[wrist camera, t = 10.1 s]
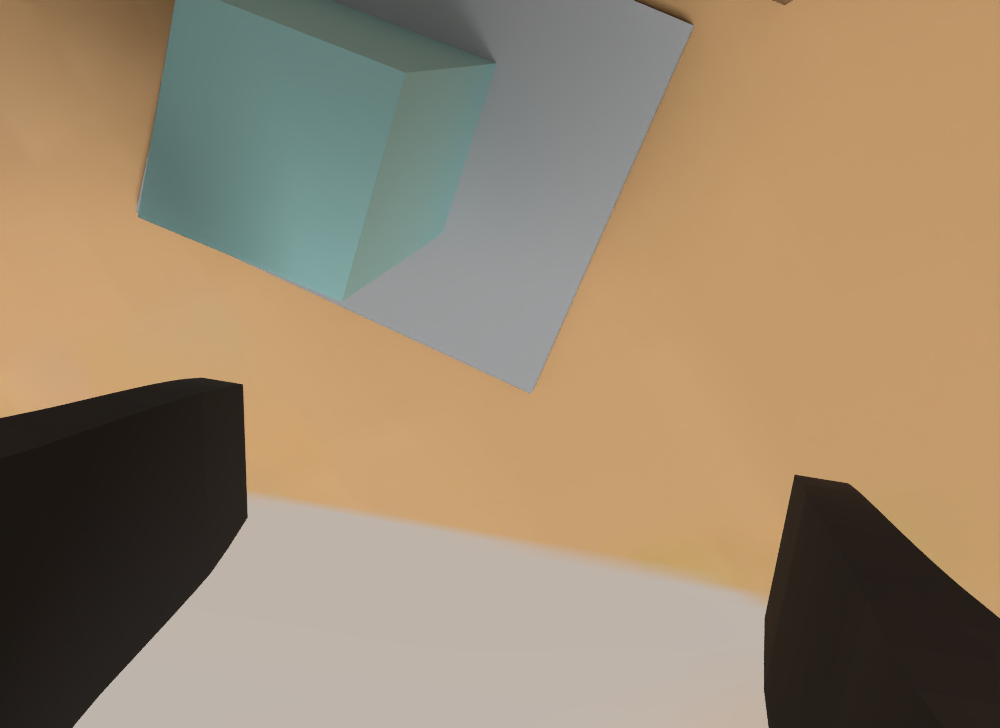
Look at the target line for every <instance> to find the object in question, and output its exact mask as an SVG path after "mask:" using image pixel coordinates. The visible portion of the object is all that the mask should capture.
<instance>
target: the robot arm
mask: <svg viewBox="0 0 1000 728" xmlns="http://www.w3.org/2000/svg"><path fill="white" fill-rule="evenodd" d="M246 519H247V488H246V459H245V431H244V402H243V384H237V383H231V382H225V381H219V380H212V379H206V378H192V379H181V380H174V381H168V382H163V383H157V384H152V385H148V386H143V387H138V388H134V389H129V390H125V391H120V392H116V393H112V394H107V395H103V396H99V397H95V398H90V399H86V400H82V401H77V402H73V403H69V404H65V405H60V406H56V407H52V408H47V409H42V410H37V411H33V412H28V413H23V414H18V415H13V416H9V417H4V418H0V728H73V726H74V725H75V724H76V722H77V721H78V720H79V719H80V718H81V716H82V715H83V714H84V713H85V712H86V711H87V709H88V708H89V707H90V706H91V705H92V703H93V702H94V701H95V700H96V699H97V698H98V696H99V695H100V694H101V693H102V692H103V691H104V689H106V687H107V686H108V685H109V684H110V683H111V682H112V681H113V680H114V679H115V678H116V676H118V674H119V673H120V672H121V671H122V670H123V669H124V668H125V667H126V666H127V664H129V663H130V661H131V660H132V659H133V658H134V657H135V656H136V655H137V654H138V653H139V652H140V651H141V650H142V648H143V647H144V646H145V645H146V644H147V643H148V642H149V641H150V640H151V639H152V637H154V635H155V634H156V633H157V632H158V631H159V630H160V629H161V628H162V627H163V626H164V625H165V624H166V622H167V621H168V620H169V619H170V618H171V617H172V616H173V615H174V614H175V612H176V611H177V610H178V609H179V608H180V607H181V606H182V605H183V604H184V603H185V601H186V600H187V599H188V598H189V597H190V596H191V595H192V594H193V593H194V592H195V590H196V589H197V588H198V587H199V586H200V585H201V584H202V582H203V581H204V580H205V579H206V578H207V577H208V576H209V574H210V573H211V572H212V570H213V569H214V567H215V566H216V565H217V563H218V562H219V560H220V559H221V558H222V556H223V555H224V553H225V552H226V550H227V549H228V547H229V546H230V544H231V543H232V541H233V540H234V538H235V536H236V535H237V533H238V532H239V530H240V529H241V527H242V525H243V524H244V522H245V521H246ZM764 638H765V639H764V693H765V701H766V710H767V718H768V726H769V728H1000V618H999V617H997V616H996V615H995V614H994V613H993V612H991V611H990V610H989V609H988V608H986V607H985V606H984V605H983V604H981V603H980V602H979V601H978V600H977V599H975V598H974V597H973V596H972V595H970V594H969V593H968V592H967V591H965V590H964V589H963V588H962V587H961V586H960V585H958V584H957V583H956V582H955V581H954V580H953V579H951V578H950V577H949V576H948V575H947V574H946V573H945V572H943V571H942V570H941V569H940V568H939V567H938V566H937V565H936V564H935V563H933V562H932V561H931V560H930V559H929V558H928V557H927V556H926V555H925V554H924V553H923V552H921V551H920V550H919V549H918V548H917V547H916V546H915V545H914V544H913V543H912V542H911V541H910V540H909V539H908V538H907V537H906V536H904V535H903V534H902V533H901V532H900V531H899V530H898V529H897V528H896V527H895V526H894V525H893V524H892V523H891V522H890V521H889V520H888V519H887V518H886V517H885V516H884V515H883V514H882V513H881V512H880V511H879V510H878V509H877V508H876V507H874V506H873V505H872V504H871V503H870V502H869V501H868V500H867V499H866V498H865V497H864V496H863V495H862V494H861V493H860V492H858V491H857V490H856V489H855V488H854V487H852V486H851V485H850V484H848V483H842V482H836V481H830V480H823V479H817V478H811V477H805V476H799V475H795V476H794V481H793V486H792V491H791V495H790V500H789V505H788V510H787V514H786V519H785V524H784V529H783V534H782V538H781V543H780V548H779V553H778V557H777V562H776V567H775V572H774V577H773V581H772V586H771V591H770V596H769V600H768V605H767V610H766V615H765V637H764Z"/></svg>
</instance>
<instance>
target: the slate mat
mask: <svg viewBox="0 0 1000 728" xmlns="http://www.w3.org/2000/svg"><path fill="white" fill-rule="evenodd" d="M332 1H335V2H337V3H340V4H343V5H345V6H348V7H350V8H353V9H356V10H358V11H361V12H364V13H366V14H369V15H371V16H374V17H377V18H379V19H382V20H384V21H387V22H390V23H392V24H395V25H398V26H400V27H403V28H405V29H408V30H411V31H413V32H416V33H418V34H421V35H424V36H426V37H429V38H432V39H434V40H437V41H439V42H442V43H445V44H447V45H450V46H452V47H455V48H458V49H460V50H463V51H466V52H468V53H471V54H473V55H476V56H479V57H481V58H484V59H486V60H489V61H492V62H494V63H497V64H496V67H495V70H494V73H493V76H492V79H491V82H490V85H489V89H488V92H487V95H486V98H485V101H484V104H483V107H482V111H481V114H480V117H479V120H478V123H477V126H476V129H475V132H474V136H473V139H472V142H471V145H470V148H469V151H468V154H467V157H466V161H465V164H464V167H463V170H462V173H461V176H460V179H459V183H458V186H457V189H456V192H455V195H454V198H453V201H452V204H451V208H450V211H449V214H448V217H447V220H446V223H445V226H444V229H443V233H442V234H440V235H439V236H438V237H436V238H435V239H433V240H432V241H430V242H429V243H427V244H426V245H424V246H423V247H421V248H420V249H419V250H417V251H416V252H414V253H413V254H411V255H410V256H408V257H407V258H405V259H404V260H402V261H401V262H400V263H398V264H397V265H395V266H394V267H392V268H391V269H389V270H388V271H386V272H385V273H383V274H382V275H381V276H379V277H378V278H376V279H375V280H373V281H372V282H370V283H369V284H367V285H366V286H364V287H363V288H362V289H360V290H359V291H357V292H356V293H354V294H353V295H351V296H350V297H348V298H347V299H345V300H344V301H342V302H341V301H338V300H336V299H334V298H331V297H329V296H326V295H324V294H322V293H319V292H317V291H314V290H312V289H310V288H307V287H305V286H302V285H300V284H298V283H295V282H293V281H290V280H288V279H286V278H283V277H281V276H278V275H276V274H274V273H271V272H269V271H266V270H264V269H262V268H259V267H257V266H254V265H252V264H250V263H248V264H250V265H252V266H254V267H256V268H259V269H261V270H263V271H265V272H267V273H269V274H272V275H274V276H276V277H278V278H280V279H282V280H285V281H287V282H289V283H291V284H293V285H295V286H298V287H300V288H302V289H304V290H306V291H309V292H311V293H313V294H315V295H317V296H319V297H322V298H324V299H326V300H328V301H330V302H332V303H335V304H337V305H339V306H341V307H343V308H345V309H348V310H350V311H352V312H354V313H356V314H359V315H361V316H363V317H365V318H367V319H369V320H372V321H374V322H376V323H378V324H380V325H382V326H385V327H387V328H389V329H391V330H393V331H395V332H398V333H400V334H402V335H404V336H406V337H408V338H411V339H413V340H415V341H417V342H419V343H422V344H424V345H426V346H428V347H430V348H432V349H435V350H437V351H439V352H441V353H443V354H445V355H448V356H450V357H452V358H454V359H456V360H458V361H461V362H463V363H465V364H467V365H469V366H472V367H474V368H476V369H478V370H480V371H482V372H485V373H487V374H489V375H491V376H493V377H495V378H498V379H500V380H502V381H504V382H506V383H508V384H511V385H513V386H515V387H517V388H519V389H522V390H524V391H526V392H528V393H530V394H531V393H532V391H533V389H534V387H535V385H536V383H537V381H538V378H539V376H540V374H541V372H542V369H543V367H544V365H545V362H546V360H547V358H548V356H549V353H550V351H551V349H552V347H553V344H554V342H555V340H556V338H557V335H558V333H559V331H560V329H561V326H562V324H563V322H564V319H565V317H566V315H567V313H568V310H569V308H570V306H571V304H572V301H573V299H574V297H575V295H576V292H577V290H578V288H579V285H580V283H581V281H582V279H583V276H584V274H585V272H586V270H587V267H588V265H589V263H590V261H591V258H592V256H593V254H594V252H595V249H596V247H597V245H598V242H599V240H600V238H601V236H602V233H603V231H604V229H605V227H606V224H607V222H608V220H609V218H610V215H611V213H612V211H613V209H614V206H615V204H616V202H617V199H618V197H619V195H620V193H621V190H622V188H623V186H624V184H625V181H626V179H627V177H628V175H629V172H630V170H631V168H632V166H633V163H634V161H635V159H636V156H637V154H638V152H639V150H640V147H641V145H642V143H643V141H644V138H645V136H646V134H647V132H648V129H649V127H650V125H651V123H652V120H653V118H654V116H655V113H656V111H657V109H658V107H659V104H660V102H661V100H662V98H663V95H664V93H665V91H666V89H667V86H668V84H669V82H670V80H671V77H672V75H673V73H674V70H675V68H676V66H677V64H678V61H679V59H680V57H681V55H682V52H683V50H684V48H685V46H686V43H687V41H688V39H689V36H690V34H691V32H692V30H693V27H694V25H691V24H689V23H687V22H684V21H682V20H679V19H677V18H675V17H672V16H670V15H667V14H665V13H663V12H660V11H658V10H655V9H653V8H651V7H648V6H646V5H643V4H641V3H639V2H636V1H634V0H332ZM150 144H151V143H150ZM149 150H150V148H149ZM148 156H149V152H148ZM147 161H148V157H147ZM146 167H147V162H146ZM146 167H145V171H144V176H143V181H142V185H141V190H140V195H139V200H138V204H137V209H136V212H137V213H139V207H140V202H141V196H142V190H143V184H144V179H145V173H146ZM232 257H233V256H232ZM237 259H238V258H237ZM239 260H240V259H239ZM241 261H242V260H241ZM243 262H245V261H243ZM245 263H247V262H245Z"/></svg>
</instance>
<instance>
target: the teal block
mask: <svg viewBox="0 0 1000 728" xmlns="http://www.w3.org/2000/svg"><path fill="white" fill-rule="evenodd" d="M496 64H497V63H494V62H492V61H489V60H486V59H484V58H481V57H479V56H476V55H473V54H471V53H468V52H466V51H463V50H460V49H458V48H455V47H452V46H450V45H447V44H445V43H442V42H439V41H437V40H434V39H432V38H429V37H426V36H424V35H421V34H418V33H416V32H413V31H411V30H408V29H405V28H403V27H400V26H398V25H395V24H392V23H390V22H387V21H384V20H382V19H379V18H377V17H374V16H371V15H369V14H366V13H364V12H361V11H358V10H356V9H353V8H350V7H348V6H345V5H343V4H340V3H337V2H335V1H332V0H175V5H174V11H173V17H172V23H171V28H170V34H169V40H168V46H167V52H166V57H165V63H164V69H163V75H162V80H161V86H160V92H159V98H158V104H157V109H156V115H155V121H154V127H153V132H152V138H151V144H150V150H149V156H148V161H147V167H146V173H145V179H144V184H143V190H142V196H141V202H140V207H139V213H138V217H139V218H142V219H144V220H146V221H149V222H151V223H154V224H156V225H158V226H161V227H163V228H166V229H168V230H170V231H173V232H175V233H178V234H180V235H182V236H185V237H187V238H190V239H192V240H194V241H197V242H199V243H202V244H204V245H206V246H209V247H211V248H214V249H216V250H218V251H221V252H223V253H226V254H228V255H230V256H233V257H235V258H238V259H240V260H242V261H245V262H247V263H250V264H252V265H254V266H257V267H259V268H262V269H264V270H266V271H269V272H271V273H274V274H276V275H278V276H281V277H283V278H286V279H288V280H290V281H293V282H295V283H298V284H300V285H302V286H305V287H307V288H310V289H312V290H314V291H317V292H319V293H322V294H324V295H326V296H329V297H331V298H334V299H336V300H338V301H341V302H342V301H344V300H345V299H347V298H348V297H350V296H351V295H353V294H354V293H356V292H357V291H359V290H360V289H362V288H363V287H364V286H366V285H367V284H369V283H370V282H372V281H373V280H375V279H376V278H378V277H379V276H381V275H382V274H383V273H385V272H386V271H388V270H389V269H391V268H392V267H394V266H395V265H397V264H398V263H400V262H401V261H402V260H404V259H405V258H407V257H408V256H410V255H411V254H413V253H414V252H416V251H417V250H419V249H420V248H421V247H423V246H424V245H426V244H427V243H429V242H430V241H432V240H433V239H435V238H436V237H438V236H439V235H440V234H442V233H443V229H444V226H445V223H446V220H447V217H448V214H449V211H450V208H451V204H452V201H453V198H454V195H455V192H456V189H457V186H458V183H459V179H460V176H461V173H462V170H463V167H464V164H465V161H466V157H467V154H468V151H469V148H470V145H471V142H472V139H473V136H474V132H475V129H476V126H477V123H478V120H479V117H480V114H481V111H482V107H483V104H484V101H485V98H486V95H487V92H488V89H489V85H490V82H491V79H492V76H493V73H494V70H495V67H496Z"/></svg>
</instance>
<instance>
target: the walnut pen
mask: <svg viewBox="0 0 1000 728" xmlns="http://www.w3.org/2000/svg"><path fill="white" fill-rule="evenodd" d="M773 1H776V2H778V3H781V4H783V5H786V4H787V3H789V2H791V1H792V0H773Z"/></svg>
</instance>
